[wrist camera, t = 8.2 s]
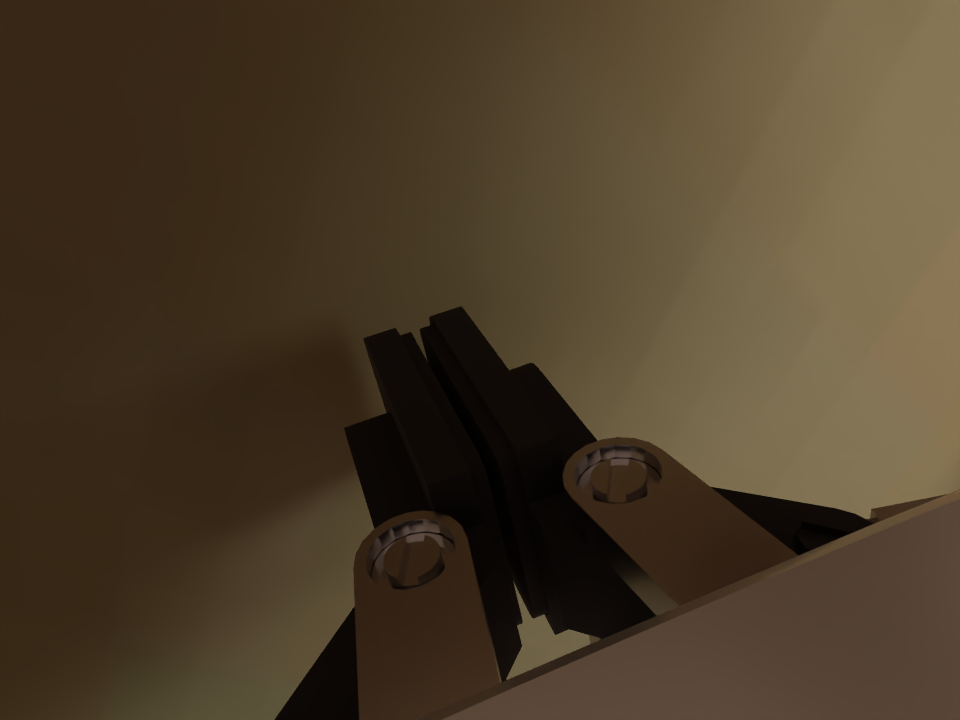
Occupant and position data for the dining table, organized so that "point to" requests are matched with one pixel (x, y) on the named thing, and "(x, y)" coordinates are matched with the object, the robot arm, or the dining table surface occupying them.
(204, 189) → the dining table surface
